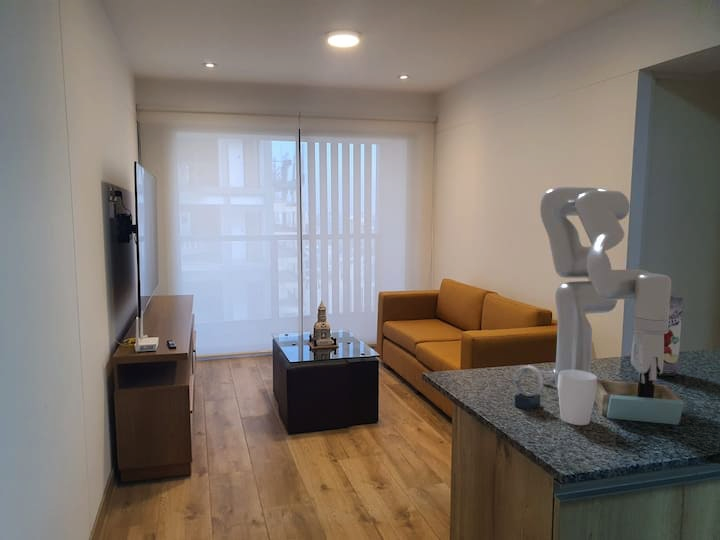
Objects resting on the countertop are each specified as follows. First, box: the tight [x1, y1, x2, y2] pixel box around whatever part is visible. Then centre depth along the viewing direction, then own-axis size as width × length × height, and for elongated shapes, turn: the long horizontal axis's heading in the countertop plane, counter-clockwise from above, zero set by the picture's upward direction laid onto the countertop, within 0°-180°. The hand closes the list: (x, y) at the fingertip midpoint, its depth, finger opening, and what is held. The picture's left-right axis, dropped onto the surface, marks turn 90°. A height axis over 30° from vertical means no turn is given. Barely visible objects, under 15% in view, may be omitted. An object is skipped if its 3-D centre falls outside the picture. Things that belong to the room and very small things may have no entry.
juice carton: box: [656, 294, 683, 377], centre depth 172 cm, size 9×10×27 cm
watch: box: [512, 364, 545, 412], centre depth 142 cm, size 6×8×11 cm
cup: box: [557, 370, 598, 426], centre depth 132 cm, size 9×9×12 cm
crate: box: [594, 379, 682, 424], centre depth 139 cm, size 18×12×6 cm
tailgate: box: [606, 395, 685, 426], centre depth 130 cm, size 16×1×7 cm, turn 76°
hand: (645, 398), depth 130 cm, fingers closed
